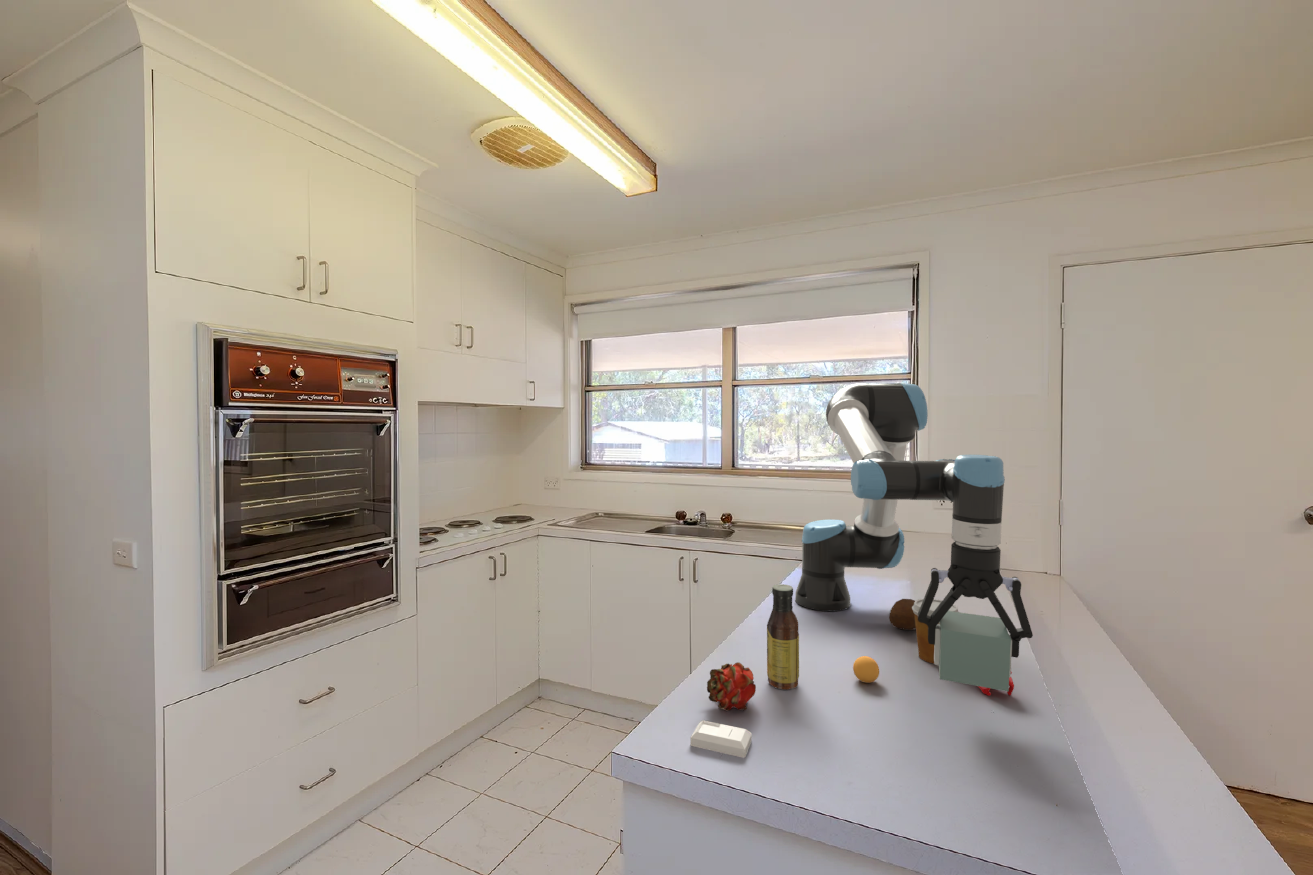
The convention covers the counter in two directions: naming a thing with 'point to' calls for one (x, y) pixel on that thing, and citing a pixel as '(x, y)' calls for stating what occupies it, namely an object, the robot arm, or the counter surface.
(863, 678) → the ball
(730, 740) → the soap bar
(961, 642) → the sage green cube
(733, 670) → the dragon fruit
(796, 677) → the sauce bottle
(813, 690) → the counter surface
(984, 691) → the red curved piece
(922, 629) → the disposable coffee cup
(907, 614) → the potato
